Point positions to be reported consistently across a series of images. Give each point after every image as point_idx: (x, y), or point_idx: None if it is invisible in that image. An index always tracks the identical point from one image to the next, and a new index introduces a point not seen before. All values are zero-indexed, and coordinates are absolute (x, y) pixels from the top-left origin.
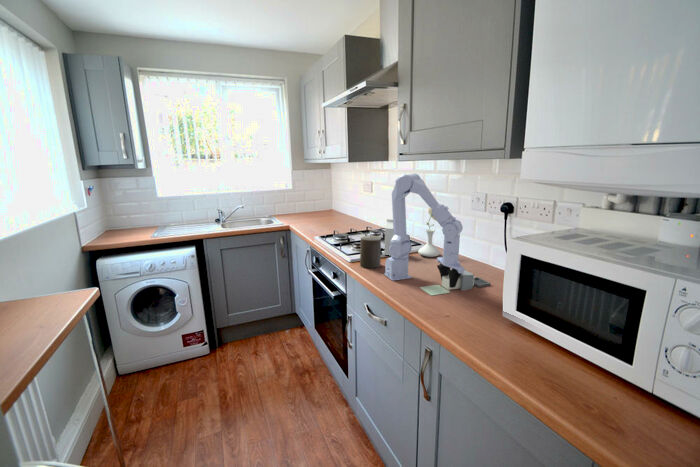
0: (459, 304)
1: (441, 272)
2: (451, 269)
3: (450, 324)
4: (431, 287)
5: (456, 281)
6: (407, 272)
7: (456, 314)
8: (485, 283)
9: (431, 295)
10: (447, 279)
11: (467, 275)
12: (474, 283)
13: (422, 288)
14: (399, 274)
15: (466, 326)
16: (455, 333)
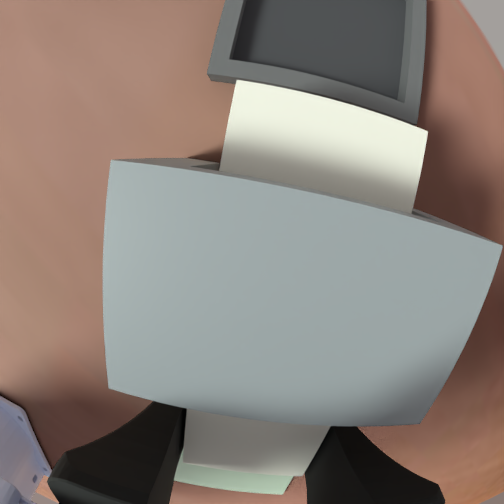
0: (436, 444)
1: (169, 498)
2: (114, 378)
3: (450, 500)
4: None
5: (347, 426)
6: (4, 437)
7: (450, 477)
8: (417, 27)
9: (282, 493)
10: (271, 472)
11: (453, 366)
12: (361, 105)
13: (181, 479)
14: (27, 468)
15: (487, 475)
16: (469, 499)
